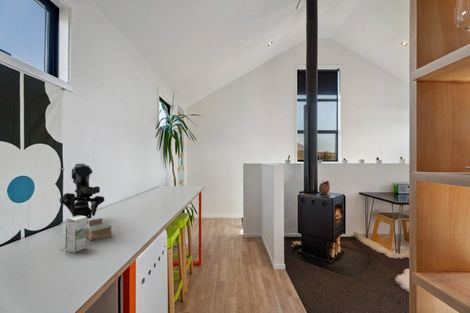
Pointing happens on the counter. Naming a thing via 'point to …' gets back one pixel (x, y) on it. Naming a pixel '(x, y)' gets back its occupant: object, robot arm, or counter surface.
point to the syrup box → (76, 234)
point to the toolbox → (98, 234)
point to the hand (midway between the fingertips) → (84, 215)
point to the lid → (97, 225)
